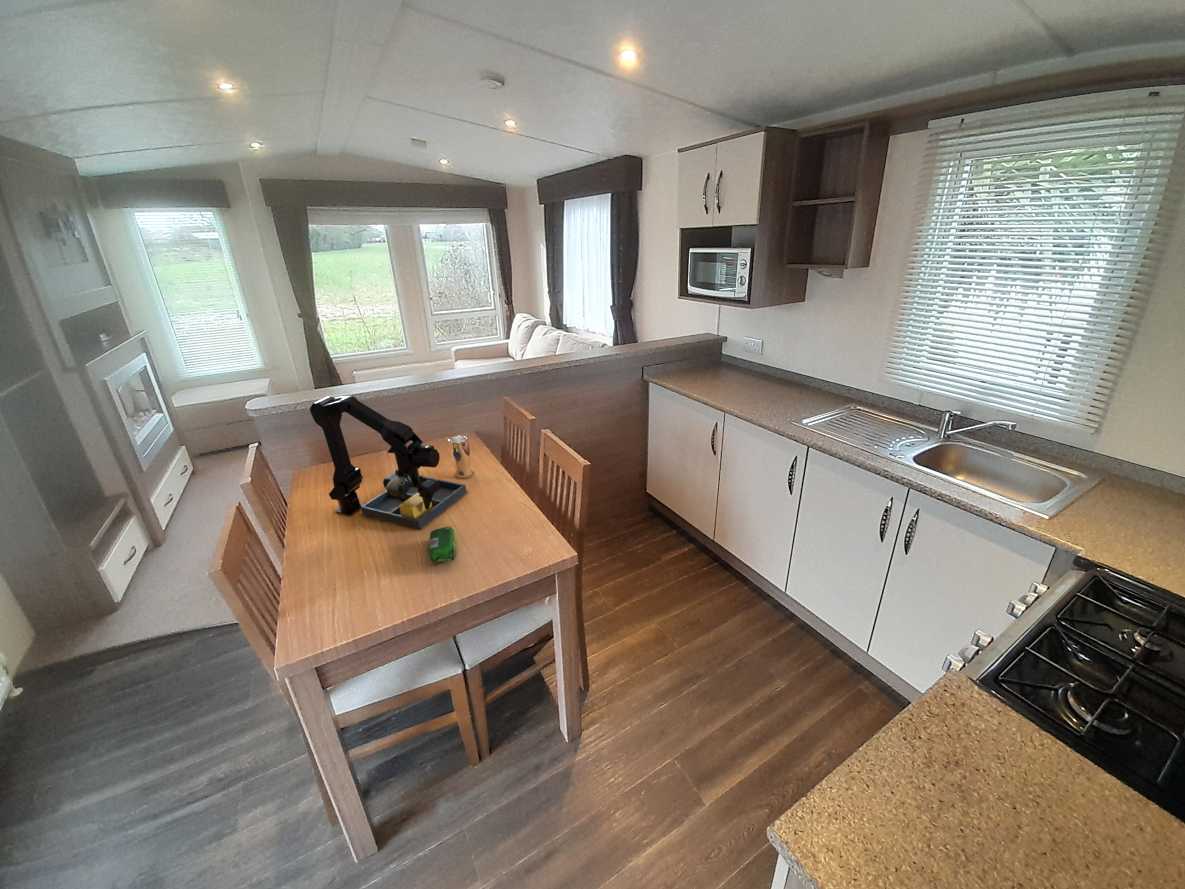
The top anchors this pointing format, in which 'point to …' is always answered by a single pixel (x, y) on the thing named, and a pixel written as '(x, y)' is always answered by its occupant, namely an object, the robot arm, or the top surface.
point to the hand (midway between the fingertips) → (416, 506)
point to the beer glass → (461, 456)
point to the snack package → (442, 544)
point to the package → (414, 507)
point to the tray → (389, 504)
